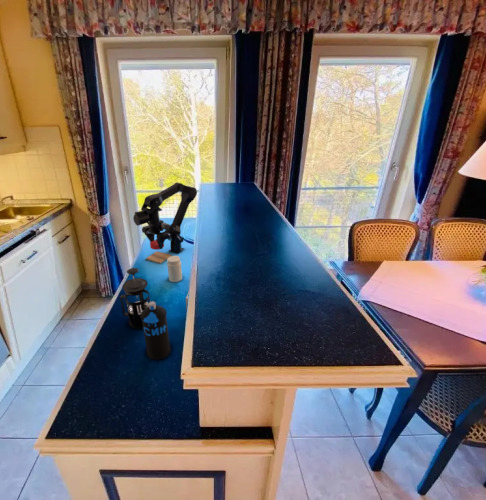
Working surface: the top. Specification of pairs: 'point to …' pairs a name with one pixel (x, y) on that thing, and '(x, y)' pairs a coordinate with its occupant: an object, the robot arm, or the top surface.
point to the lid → (154, 245)
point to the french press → (135, 289)
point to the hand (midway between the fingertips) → (157, 246)
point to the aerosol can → (156, 331)
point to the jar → (174, 268)
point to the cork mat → (158, 257)
